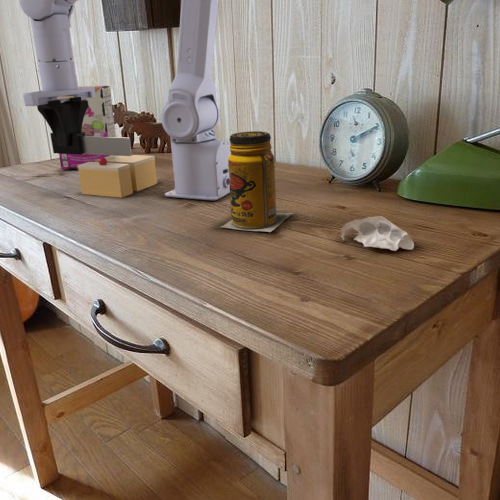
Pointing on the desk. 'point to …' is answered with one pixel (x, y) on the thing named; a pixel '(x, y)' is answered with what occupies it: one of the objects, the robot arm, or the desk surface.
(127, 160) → the cake
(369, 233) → the white irregular chunk
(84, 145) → the knife
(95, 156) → the candy bar box
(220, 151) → the robot arm
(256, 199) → the condiment
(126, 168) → the cake slice
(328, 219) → the desk surface
